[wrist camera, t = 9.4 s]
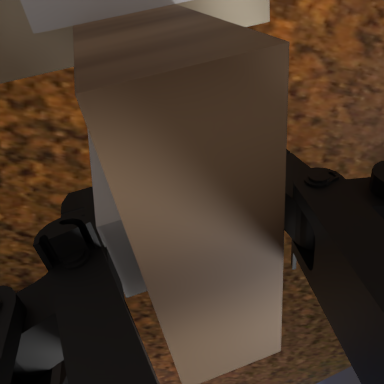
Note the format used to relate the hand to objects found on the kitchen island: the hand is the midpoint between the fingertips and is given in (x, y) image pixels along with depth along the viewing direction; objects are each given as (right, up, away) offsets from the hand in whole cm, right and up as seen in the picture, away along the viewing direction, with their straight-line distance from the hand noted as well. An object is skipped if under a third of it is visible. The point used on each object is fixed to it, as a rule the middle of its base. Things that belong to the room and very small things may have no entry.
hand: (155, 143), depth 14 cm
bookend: (-1, +3, -2) cm, 4 cm away
